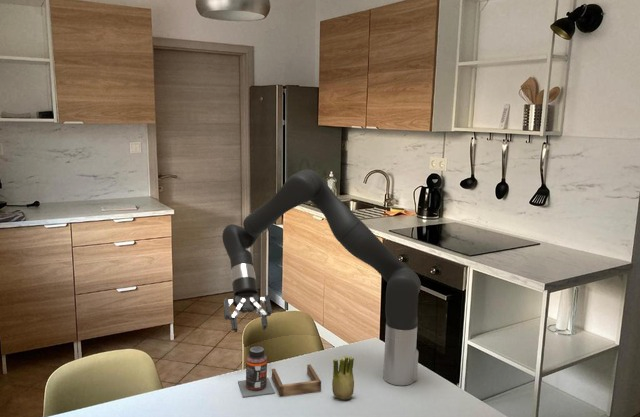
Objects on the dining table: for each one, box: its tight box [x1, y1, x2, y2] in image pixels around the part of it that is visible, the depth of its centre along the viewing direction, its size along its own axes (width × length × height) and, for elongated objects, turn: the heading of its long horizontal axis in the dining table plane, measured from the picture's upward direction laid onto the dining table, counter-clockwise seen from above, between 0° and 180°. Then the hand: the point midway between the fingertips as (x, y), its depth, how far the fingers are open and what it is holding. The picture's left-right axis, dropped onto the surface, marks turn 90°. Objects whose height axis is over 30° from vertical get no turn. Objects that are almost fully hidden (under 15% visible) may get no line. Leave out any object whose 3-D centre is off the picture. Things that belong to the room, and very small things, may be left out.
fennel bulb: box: [331, 355, 355, 401], centre depth 148 cm, size 6×5×12 cm
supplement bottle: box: [245, 346, 268, 390], centre depth 152 cm, size 6×6×11 cm
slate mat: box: [237, 377, 276, 399], centre depth 153 cm, size 9×9×1 cm
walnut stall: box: [271, 364, 322, 398], centre depth 155 cm, size 12×11×3 cm
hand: (250, 330), depth 159 cm, fingers open, 8 cm apart
